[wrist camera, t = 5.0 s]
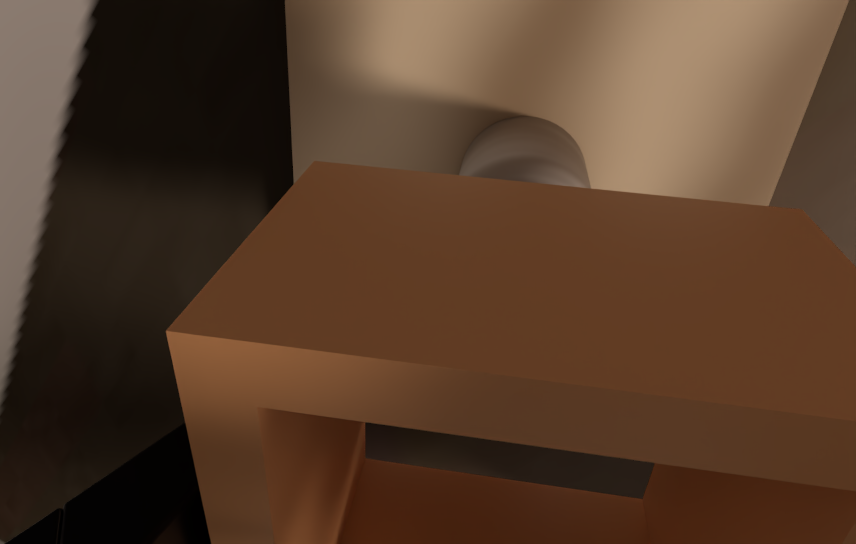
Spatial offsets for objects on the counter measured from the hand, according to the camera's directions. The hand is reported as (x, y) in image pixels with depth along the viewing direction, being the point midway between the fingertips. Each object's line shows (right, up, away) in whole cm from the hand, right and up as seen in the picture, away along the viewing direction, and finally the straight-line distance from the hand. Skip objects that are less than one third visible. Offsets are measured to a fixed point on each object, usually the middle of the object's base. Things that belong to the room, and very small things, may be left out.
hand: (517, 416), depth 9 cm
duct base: (+2, +5, +9) cm, 11 cm away
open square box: (0, 0, +1) cm, 1 cm away
